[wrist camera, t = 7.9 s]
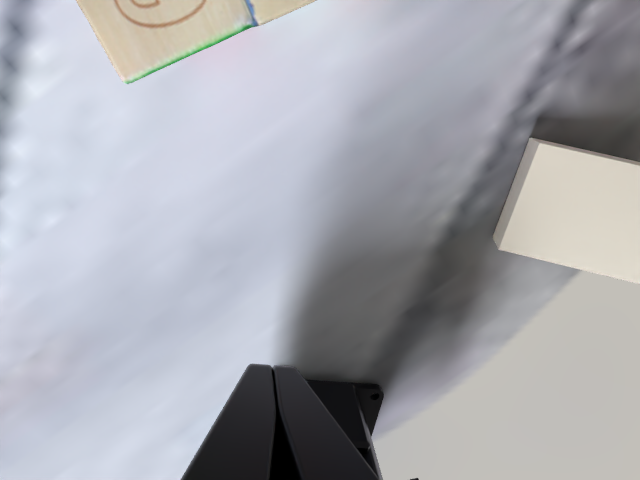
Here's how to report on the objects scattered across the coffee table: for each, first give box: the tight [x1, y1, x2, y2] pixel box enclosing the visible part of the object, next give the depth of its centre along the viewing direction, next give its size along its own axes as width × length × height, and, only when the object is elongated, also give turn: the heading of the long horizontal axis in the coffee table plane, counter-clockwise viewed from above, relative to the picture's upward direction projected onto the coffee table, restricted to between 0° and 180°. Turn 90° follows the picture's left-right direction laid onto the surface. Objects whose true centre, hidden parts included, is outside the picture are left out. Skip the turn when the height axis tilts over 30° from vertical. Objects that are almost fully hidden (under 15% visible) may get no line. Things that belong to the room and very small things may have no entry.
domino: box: [492, 137, 640, 284], centre depth 21 cm, size 5×2×8 cm
